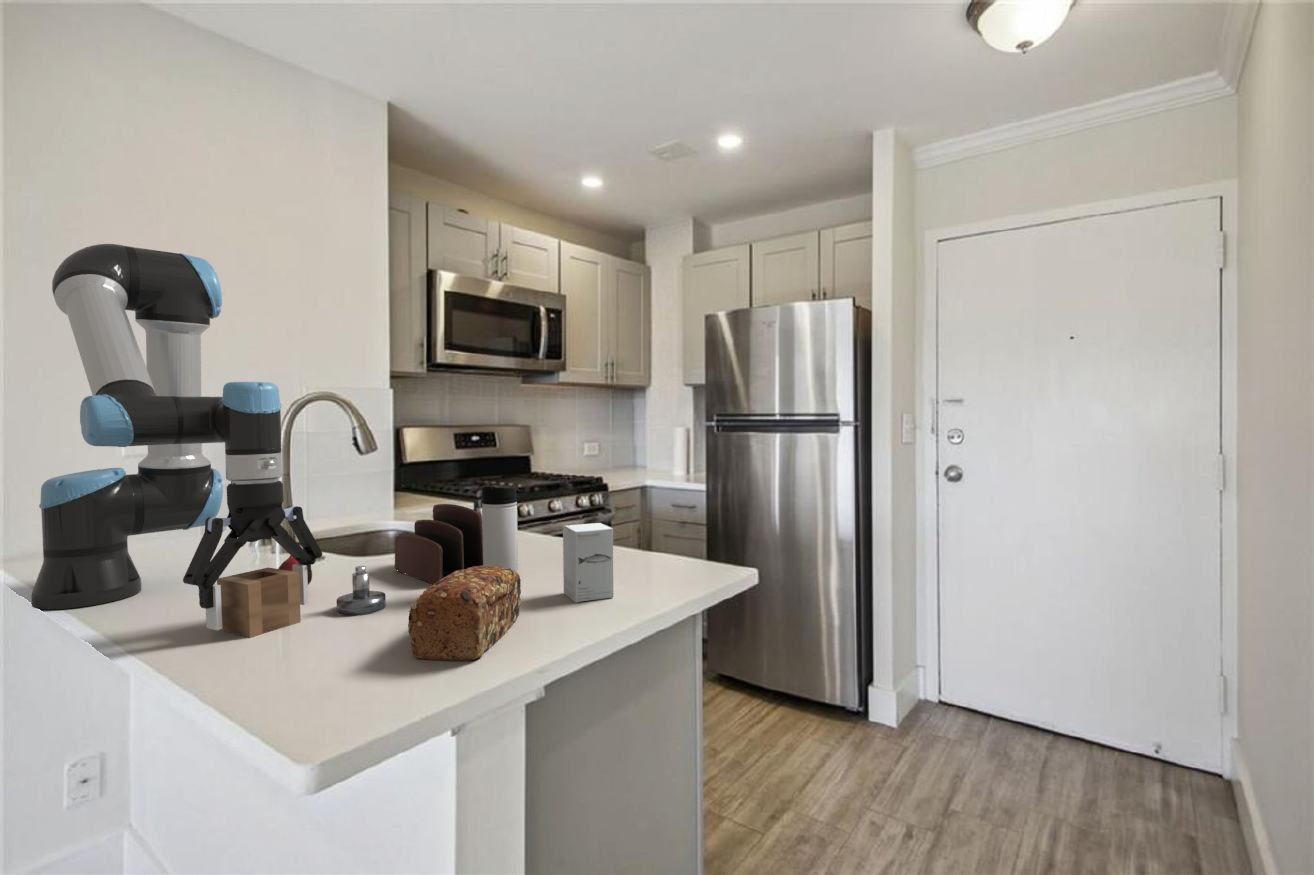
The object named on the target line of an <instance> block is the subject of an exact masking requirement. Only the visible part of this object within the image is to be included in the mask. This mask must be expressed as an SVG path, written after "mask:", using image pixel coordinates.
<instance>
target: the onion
mask: <svg viewBox="0 0 1314 875" xmlns="http://www.w3.org/2000/svg"><path fill="white" fill-rule="evenodd" d="M294 564H299V563H298V562H297V561H296V560H295V559H294V558H293V557H292V556H291V555H290V554H289V557H288V558H287V559H285V560H284V561H283V562H282V563H281V564H280V565H279V567H278V568H277V569H281V570H287V571H293V567H292V565H294ZM312 579H313V570H312V569H311V581H312ZM310 584H311V582H309V583H308V586H309V585H310Z"/></svg>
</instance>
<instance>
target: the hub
mask: <svg viewBox="0 0 1314 875" xmlns="http://www.w3.org/2000/svg"><path fill="white" fill-rule="evenodd" d="M354 568H355V570H354V573H352V574H351V577H352V581H351V582H352V592H351V593H348V594H343V595H341V596H338V597H337V598H336V599H335V600H336V613H337V614H338V615H340V616H346V617H347V616H349V617H352V616H363V615H369V614H373V613H376V612H380V611H383V610H384V609H385V608H386V606H387V602H386V598H387V597H386V593H385V592H383V591H379V590H378V591H377V590H370V572H368V571H367V569H366V565H358V566H355V567H354Z"/></svg>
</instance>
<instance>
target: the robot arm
mask: <svg viewBox="0 0 1314 875" xmlns="http://www.w3.org/2000/svg"><path fill="white" fill-rule="evenodd" d="M220 283H221V282H220V280H219V277H218V274H217V272H216V270H215V269H214V267H213V265H212V264H211V263H210V262H209V261H207V260H206V259H205V258H202V257H197V256H193V255H189V254H184V253H177V252H171V251H170V252H168V251H163V250H162V251H161V250H156V249H148V248H141V247H134V246H129V245H128V246H127V245H123V244H116V243H102V244H101V243H99V244H94V245H89V246H85V247H84V248H81V249H78V250H77V251H75V252H73V253H72V254H70V255H69V256H67V257H66V258H64V259H63V261H62V262H61V263H60V265H59V266H58V267H57V269H56V270H55V272H54V276H53V278H52V282H51V290H52V295H53V298H54V301H55V304H56V306H57V307H58V309H59V310H60V311H61V312H62V313H63V314H65V315H67V317H68V320H69V325H70V328H71V331H72V333H73V337H74V340H75V343H76V347H77V350H78V353H79V357H80V360H81V363H82V366H83V368H84V372H85V373H84V374H85V375H86V379H87V382H88V385H89V389H90V392H91V394H92V395H88V396H85V397H84V398H83V399H82V400H81V404H80V410H79V423H80V429H81V435H82V438H83V440H84V442H86V443H87V444H88V445H89V446H93V447H113V448H114V447H117V448H126V447H141V446H147V455H146V456H145V457H144V458H143V459H142V460H140V461H139V462H138V464H137V473H135V474H134V473H133V474H127V471H125V469H124V468H122V467H109V468H108V467H107V468H101V469H100V468H99V469H92V470H85V471H80V472H72V473H67V474H62V475H58V476H55V477H51V478H49V479H47V480H46V481H44V482H43V484H42V485H41V487H40V501H39V502H40V504H39V505H38V506H39V509H41V510H40V512H41V514H40V515H41V530H42V531H41V533H42V552H43V553H42V556H43V557H42V558H43V561H42V562H43V563H42V565H41V568H40V570H39V573H38V576H37V578H36V581H35V583H34V586H33V588H32V592H31V607H32V608H34V609H38V610H62V609H63V610H64V609H65V610H66V609H75V608H83V607H89V606H90V607H91V606H96V605H101V604H106V603H107V604H108V603H111V602H115V601H120V600H123V599H126V598H130V597H132V596H135V595H137V594H138V593H140V592H141V591H142V578H141V576H140V573H139V572H138V569H137V567H136V565H135V564H134V562H133V560H132V556H131V555H130V553H129V548H128V547H129V546H128V538H129V537H130V536H137V535H145V534H152V533H160V532H170V531H177V530H178V531H180V530H183V531H186V530H190V529H193V528H199V527H204V532H203V535H202V537H201V538H200V539H201V540H200V542H199V544H198V546H197V547H196V550H195V552H194V554H193V556H192V558H191V561H190V563H189V566H188V567H187V570H186V572H185V573H184V575H183V578H182V582H183V583H184V584H186V585H190V586H197V587H198V599H199V600H198V602H199V607H200V608H201V609H205V622H206V623H205V624H206V625H205V626H206V629H210V630H214V631H221V630H220V629H222V607H221V585H217V579H218V578H221V575H222V574H223V573H224V571H225V570H226V568H227V567H228V565H229V564H230V562H232V560H233V559H234V558H235V556H236V555H237V554H238V552H239V551H240V549H241V548H243V547H244V546H245V545H246V544H247V542H248V543H255V542H258V541H260V540H265V541H266V540H271V539H273V540H274V541H275V542H276V543H277V544H278V545H279V546H280V547H281V548H282V549H283V550H285V551H286V553H288V554H289V556H290V555H291V556H292V557H293V558H294V559H295V560H296V561H297V562H298V563H299V564H294V565H292V567H293V572H299V589H300V606H301V605H302V606H306V605H307V606H308V605H309V585H308V583H309V582H310V583H311V582H312V580H311V570H312V565H314V564H315V563H316V562H317V559H320V558H322V556H323V552H322V549H321V548H320V546H319V545H318V542H317V541H316V539H315V537H314V535H313V533H312V532H311V530H310V528H309V526H308V525H307V523H306V520H305V519H304V512H303V508H302V507H301V506H299V505H297V506H295V505H288V506H287V507H286V508H283V503H284V499H285V498H284V483H283V482H282V481H281V480H279V479H280V478H281V477H283V457H282V424H281V423H282V421H281V420H282V418H281V417H282V416H281V411H282V410H281V409H282V404H281V399H280V397H281V396H280V390H279V387H278V385H277V384H275V383H273V382H264V381H233V382H232V381H231V382H230V381H229V382H227V383H225V384H224V385H223V388H222V396H202V351H201V350H202V344H201V343H202V340H201V339H202V338H201V336H202V334H203V333H204V332H205V331H206V330H208V329H209V328H210V327H211V320H213V319H216V318H218V317H219V316H220V314H221V312H222V307H221V306H223V294H222V288H221V284H220ZM127 311H133V312H134V314H135V315H134V316H135V317H134V318H135V320H134V321H135V322H136V323H137V324H138V325H139V326H140V327H142V329H143V330H144V332H145V345H146V346H145V353H146V354H145V355H146V356H145V359H146V361H145V360H144V358H143V355H142V352H141V350H140V348H139V345H138V341H137V339H136V336H135V333H134V330H133V328H132V325H131V323H130V319H129V317H128V314H127ZM145 362H146V363H145ZM220 443H221V444H224V452H225V454H224V455H225V479H226V480H227V481H228V482H230V483H228V484H227V485H226V504H227V509H228V514H227V515H226V517H217V516H218V514H219V512H220V509H221V506H222V503H223V501H222V500H223V493H224V484H223V483H222V481H223V478H222V474H221V472H220V471H219V470H217V469H215V468H212V467H211V466H212V462H211V461H212V460H211V461H210V459H208V458H207V457H206V456H205V455H204V454H203V453H202V452H203V451H202V450H203V448H202V447H203V446H202V445H203V444H220ZM284 519H285V520H286V521H287V522H288V524H289V526H290V528H291V530H292V531H293V533H294V535H295V537H296V538H297V540H298V541H299V543H298V542H297V541H296V540H295V539H294V538H293V537H292V536H291V535H290V534H289V531H288V530H286V529H285V527H283V526H282V523H283V522H284ZM227 527H228V528H229V529H230V532H229V533H228V534H227V535H226V537H225V538H224V542H223V543H222V545H221V547H220V548H219V549H218V550H217V547H218V545H219V543H220V541H221V539H222V536H223V533H224V532H225V531H226V530H227ZM216 550H217V551H216ZM215 552H216V554H215ZM214 554H215V555H214Z"/></svg>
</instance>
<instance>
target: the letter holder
mask: <svg viewBox="0 0 1314 875" xmlns="http://www.w3.org/2000/svg"><path fill="white" fill-rule="evenodd" d="M432 518H433V519H417V520H416V521H415V522H414V524H413V526H414V528H413V529H414V533H413V534H411V533H399V534H396V535H395V538H394V570H395V569H396V570H398V571H401V572H403V573H406V574H408V575H407V576H409V575H410V576H409V577H412V576H413V578H414V577H415V579H418V580H420V579H421V581H423V580H424V581H423V582H426V581H428V582H427V583H429V582H431V583H430V584H432V583H433V584H432V585H434V584H435V583H436V582H438V581H439V580H441V579H442V578H444V577H446V576H448V575H450V574H451V573H453V572H455V571H457V570H462V569H467V568H470V567H473V566H483V528H482V513H481V512H478V511H477V510H475V509H472V508H470V507H466V506H463V505H457V504H451V503H438V504H434V505H433V507H432ZM398 571H397V572H398ZM401 572H400V573H401ZM403 573H402V574H403ZM406 574H405V575H406Z"/></svg>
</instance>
